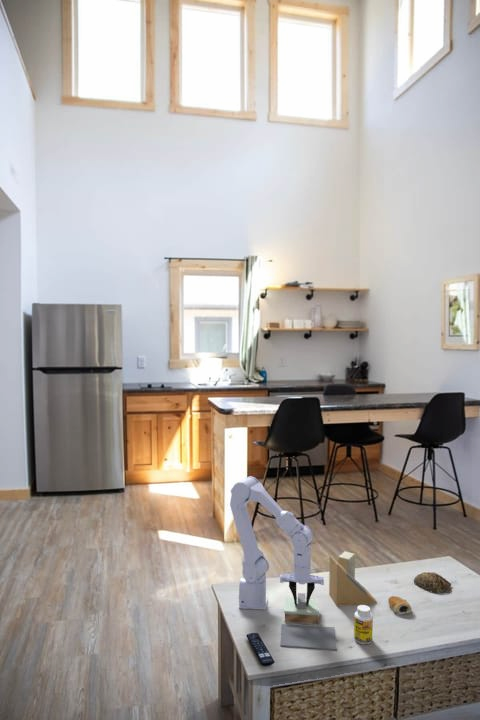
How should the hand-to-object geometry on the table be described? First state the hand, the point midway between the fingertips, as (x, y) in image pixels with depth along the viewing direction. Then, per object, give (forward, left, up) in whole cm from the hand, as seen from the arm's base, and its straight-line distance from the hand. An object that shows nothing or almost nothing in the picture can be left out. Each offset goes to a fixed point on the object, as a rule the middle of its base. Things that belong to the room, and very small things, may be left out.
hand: (301, 603), depth 179 cm
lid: (0, 0, -2) cm, 2 cm away
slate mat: (+2, -12, -4) cm, 13 cm away
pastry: (+34, +9, -5) cm, 35 cm away
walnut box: (0, 0, -4) cm, 4 cm away
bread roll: (+50, +28, -5) cm, 58 cm away
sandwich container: (+19, +14, -5) cm, 24 cm away
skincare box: (+17, +23, -4) cm, 29 cm away
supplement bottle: (+19, -12, -4) cm, 23 cm away
